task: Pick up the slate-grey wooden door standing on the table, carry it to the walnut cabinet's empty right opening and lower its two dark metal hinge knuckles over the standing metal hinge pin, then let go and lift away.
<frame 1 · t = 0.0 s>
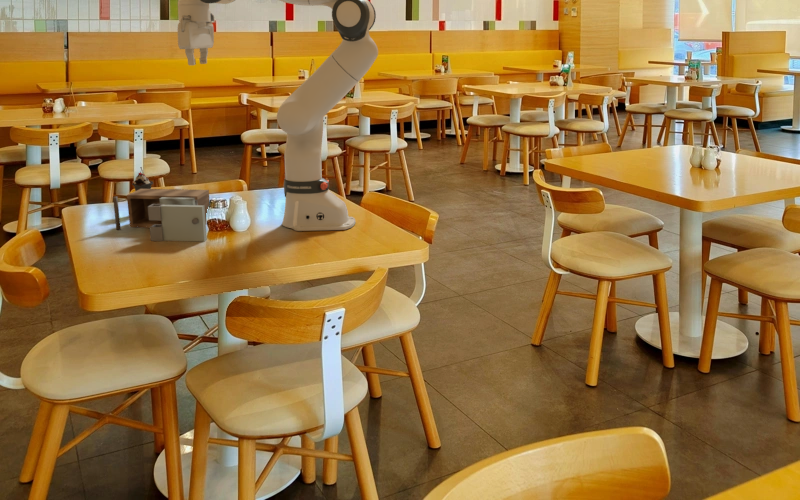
hand: (197, 64, 232), 48 cm above the table, tool pointing down, fingers open, 8 cm apart
cabinet: (171, 224, 242), on the table
sundae: (145, 213, 257), on the table
door: (185, 239, 223), on the table
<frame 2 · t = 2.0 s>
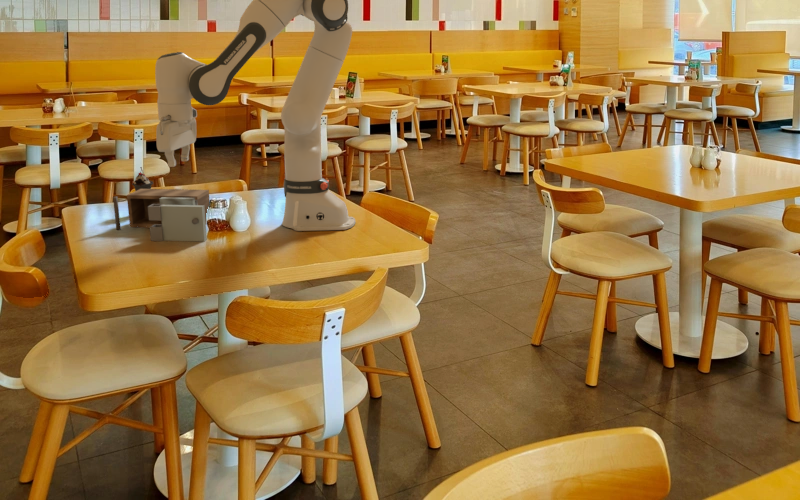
hand: (178, 163, 218), 22 cm above the table, tool pointing down, fingers open, 8 cm apart
nothing on the table moved.
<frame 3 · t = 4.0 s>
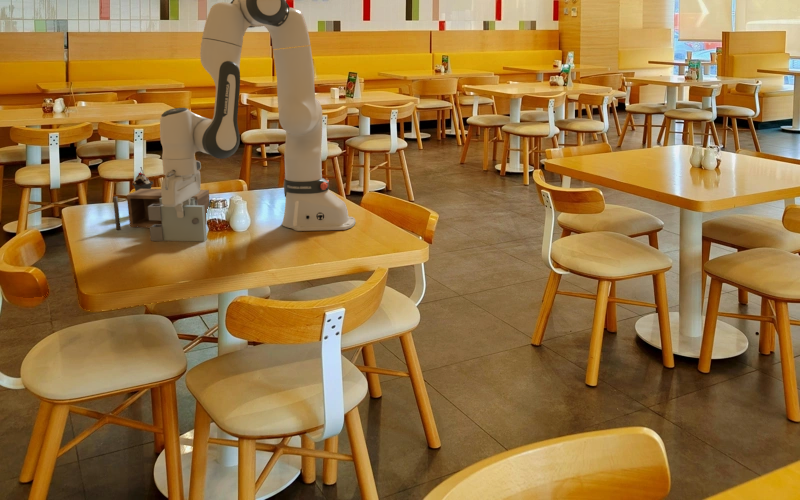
hand: (183, 215, 222), 7 cm above the table, tool pointing down, fingers closed on door, 2 cm apart
door: (185, 239, 223), on the table, touching gripper
everything else where it was.
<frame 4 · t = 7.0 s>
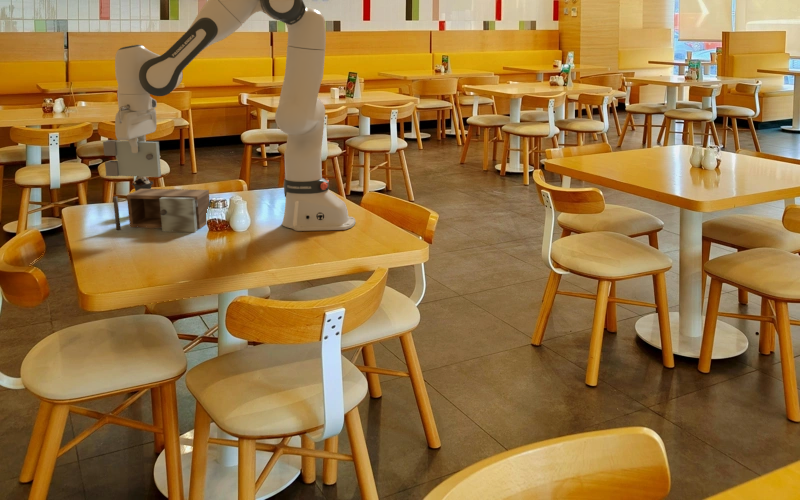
hand: (138, 151, 227), 24 cm above the table, tool pointing down, fingers closed on door
door: (140, 175, 229), point 17 cm above the table, touching gripper
everything else where it was.
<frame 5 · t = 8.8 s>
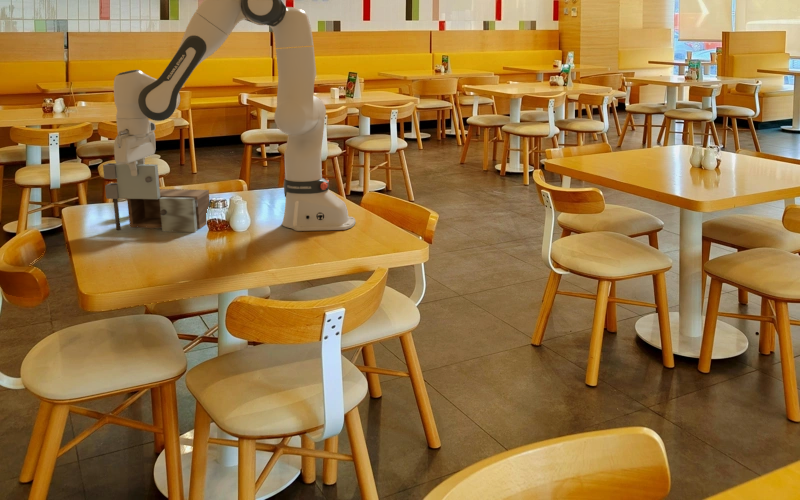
hand: (137, 174, 230), 17 cm above the table, tool pointing down, fingers closed on door
door: (139, 198, 232), point 10 cm above the table, touching gripper
everything else where it was.
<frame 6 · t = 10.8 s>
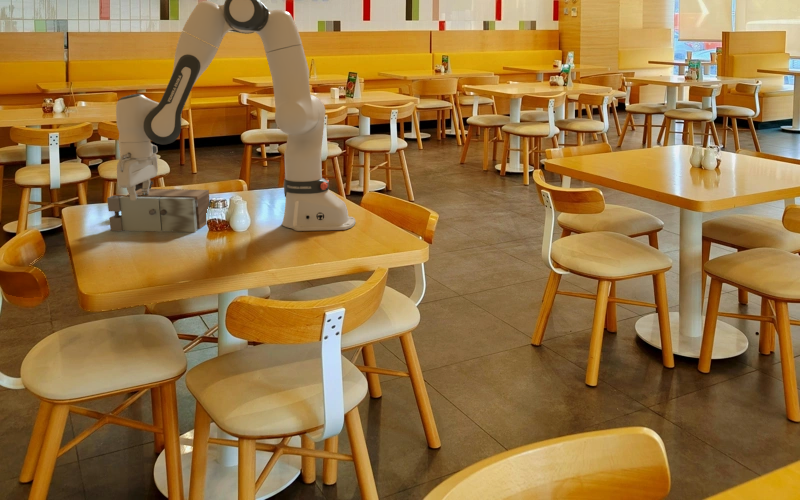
hand: (140, 197, 232), 10 cm above the table, tool pointing down, fingers open, 7 cm apart
door: (143, 230, 235), on the table
everything else where it was.
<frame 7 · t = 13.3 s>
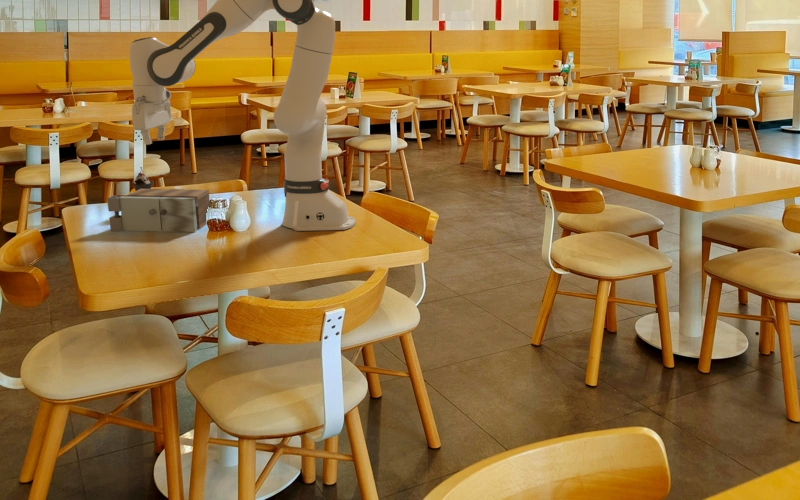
hand: (154, 142, 233), 26 cm above the table, tool pointing down, fingers open, 8 cm apart
nothing on the table moved.
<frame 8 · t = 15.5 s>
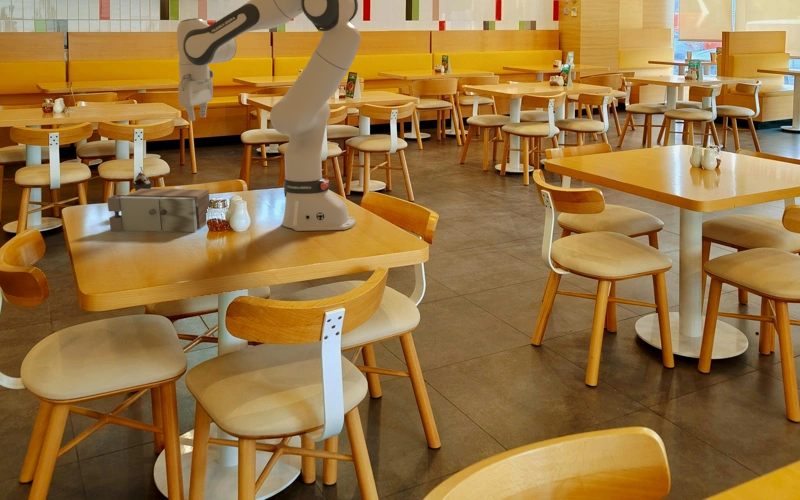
hand: (197, 118, 244), 31 cm above the table, tool pointing down, fingers open, 8 cm apart
nothing on the table moved.
at the end: door 0.1 cm from the target spot on the cabinet, point 0.0 cm above the cabinet's base; door tilted 0°; the gripper is holding nothing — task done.
